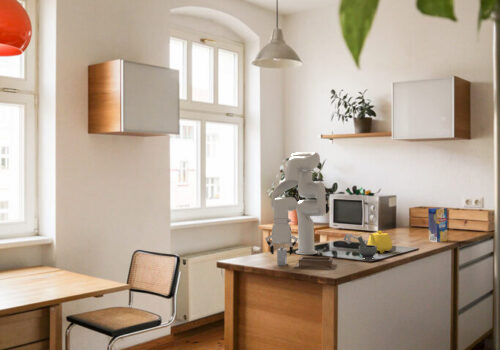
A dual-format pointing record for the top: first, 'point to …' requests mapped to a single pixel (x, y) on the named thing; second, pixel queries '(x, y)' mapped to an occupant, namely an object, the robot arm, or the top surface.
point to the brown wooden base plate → (315, 263)
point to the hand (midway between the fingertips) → (281, 254)
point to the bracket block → (282, 256)
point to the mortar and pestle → (366, 249)
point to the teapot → (380, 241)
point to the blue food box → (437, 224)
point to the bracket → (350, 238)
